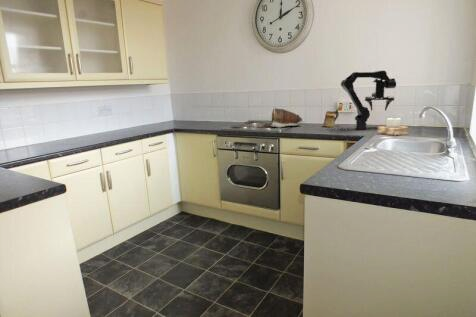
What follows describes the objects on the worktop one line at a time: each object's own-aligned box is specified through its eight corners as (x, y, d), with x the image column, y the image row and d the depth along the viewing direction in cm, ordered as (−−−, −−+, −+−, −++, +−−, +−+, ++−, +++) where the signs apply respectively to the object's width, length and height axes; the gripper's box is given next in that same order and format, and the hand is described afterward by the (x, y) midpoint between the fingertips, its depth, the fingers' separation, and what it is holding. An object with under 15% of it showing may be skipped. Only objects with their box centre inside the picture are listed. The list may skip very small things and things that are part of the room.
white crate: (385, 132, 213) (386, 118, 211) (391, 131, 216) (392, 117, 214) (394, 133, 208) (395, 119, 206) (399, 132, 211) (401, 118, 209)
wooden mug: (341, 127, 249) (344, 104, 243) (324, 127, 249) (327, 104, 243) (338, 125, 258) (341, 102, 252) (321, 124, 258) (324, 102, 252)
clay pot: (306, 112, 252) (275, 107, 251) (303, 131, 254) (272, 126, 253) (301, 112, 267) (272, 108, 266) (298, 131, 269) (269, 126, 267)
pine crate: (377, 133, 215) (378, 126, 213) (390, 131, 221) (390, 125, 220) (395, 136, 203) (395, 129, 202) (408, 133, 210) (408, 127, 208)
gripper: (391, 88, 234) (390, 109, 237) (364, 88, 238) (363, 109, 242) (395, 88, 223) (393, 111, 227) (366, 89, 228) (365, 111, 232)
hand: (378, 110), depth 232 cm, fingers open, 9 cm apart
